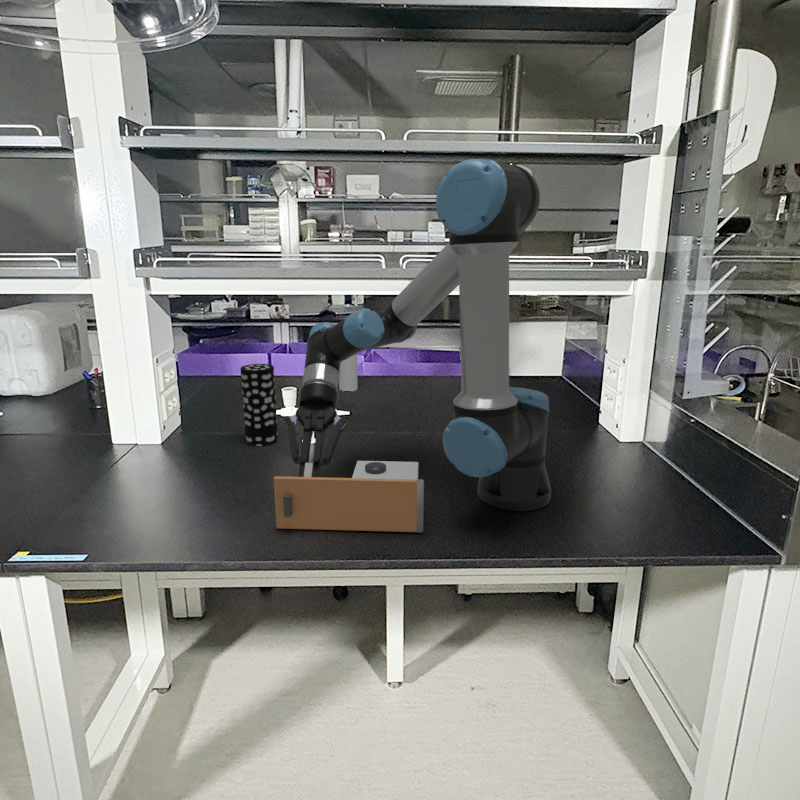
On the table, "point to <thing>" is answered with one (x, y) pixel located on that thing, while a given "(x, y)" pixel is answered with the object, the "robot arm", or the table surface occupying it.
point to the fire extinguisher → (348, 374)
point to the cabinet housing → (386, 470)
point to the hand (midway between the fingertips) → (306, 496)
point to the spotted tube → (259, 404)
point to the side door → (349, 504)
